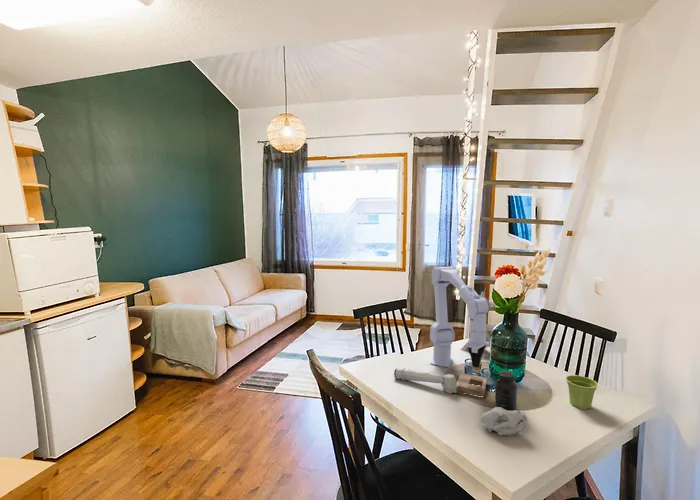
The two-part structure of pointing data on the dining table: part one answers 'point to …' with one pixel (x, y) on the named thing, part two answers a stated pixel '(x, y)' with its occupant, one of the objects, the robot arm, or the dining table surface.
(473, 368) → the peg
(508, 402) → the supplement bottle
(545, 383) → the dining table surface
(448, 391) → the gray mallet
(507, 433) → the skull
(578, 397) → the plant pot
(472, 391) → the socket block
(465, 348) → the eiffel tower
